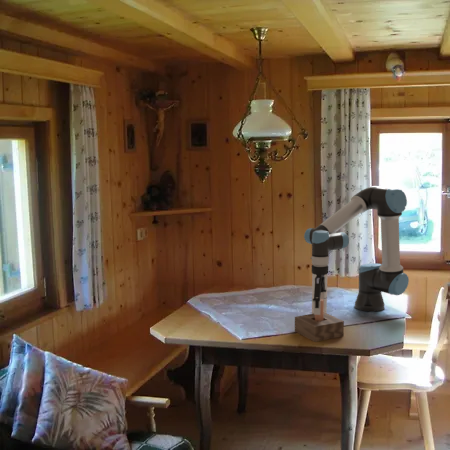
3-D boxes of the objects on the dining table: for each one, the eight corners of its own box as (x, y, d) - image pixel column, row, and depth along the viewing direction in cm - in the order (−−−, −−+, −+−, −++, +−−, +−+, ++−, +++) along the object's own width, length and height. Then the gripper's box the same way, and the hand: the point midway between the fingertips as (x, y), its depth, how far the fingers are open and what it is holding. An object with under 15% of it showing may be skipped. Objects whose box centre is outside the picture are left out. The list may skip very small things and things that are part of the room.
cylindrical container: (326, 324, 306) (327, 274, 301) (311, 323, 307) (311, 273, 303) (326, 319, 312) (327, 270, 308) (312, 319, 314) (312, 269, 310)
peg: (319, 331, 296) (320, 298, 293) (324, 334, 292) (325, 300, 289) (312, 333, 294) (313, 299, 291) (317, 335, 290) (318, 301, 288)
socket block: (322, 325, 304) (323, 311, 302) (343, 336, 289) (343, 321, 288) (294, 331, 296) (294, 316, 295) (314, 341, 282) (314, 326, 281)
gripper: (315, 258, 300) (314, 301, 304) (307, 270, 277) (306, 317, 280) (331, 259, 298) (330, 303, 302) (324, 271, 275) (323, 319, 278)
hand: (319, 310), depth 291 cm, fingers open, 13 cm apart
